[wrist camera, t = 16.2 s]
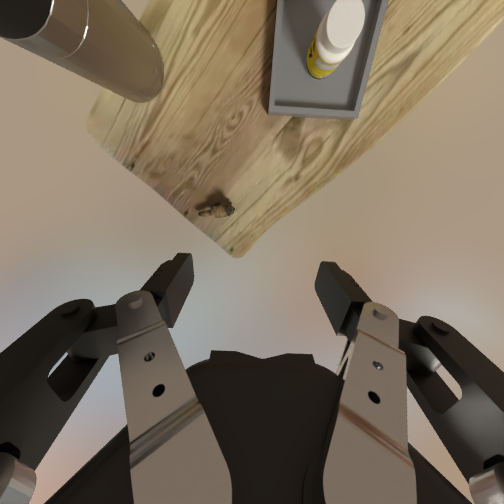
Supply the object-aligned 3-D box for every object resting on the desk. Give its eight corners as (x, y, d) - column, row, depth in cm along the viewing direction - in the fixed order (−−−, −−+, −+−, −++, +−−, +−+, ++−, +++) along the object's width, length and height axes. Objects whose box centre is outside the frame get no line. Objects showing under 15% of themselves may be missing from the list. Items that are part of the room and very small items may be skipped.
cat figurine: (241, 211, 37) (235, 217, 34) (206, 217, 39) (198, 223, 36) (237, 197, 36) (231, 202, 32) (202, 204, 38) (193, 209, 35)
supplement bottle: (314, 29, 25) (339, -26, 18) (344, 46, 26) (379, 0, 18) (298, 73, 27) (314, 39, 20) (326, 87, 28) (351, 60, 20)
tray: (267, 114, 30) (268, 111, 28) (278, -17, 24) (280, -32, 22) (351, 120, 30) (357, 117, 28) (384, -10, 24) (394, -23, 22)
